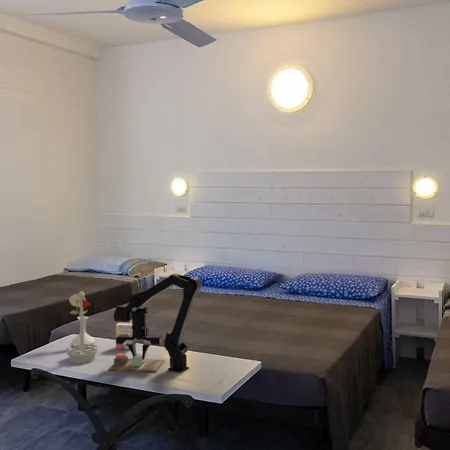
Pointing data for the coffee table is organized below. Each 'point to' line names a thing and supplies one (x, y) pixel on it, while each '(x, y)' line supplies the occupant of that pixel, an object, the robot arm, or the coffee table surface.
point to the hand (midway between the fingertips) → (139, 359)
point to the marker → (138, 359)
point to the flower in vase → (76, 302)
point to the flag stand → (82, 340)
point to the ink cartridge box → (123, 332)
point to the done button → (121, 356)
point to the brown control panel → (146, 366)
